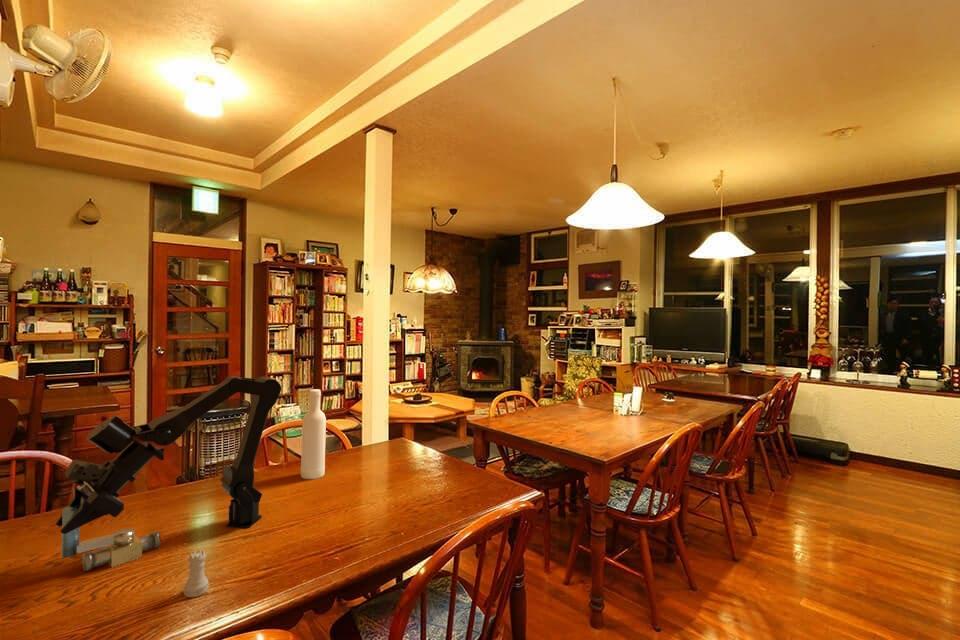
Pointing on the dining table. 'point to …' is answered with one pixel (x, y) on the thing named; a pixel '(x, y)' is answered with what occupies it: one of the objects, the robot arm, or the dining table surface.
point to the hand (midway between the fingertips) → (59, 529)
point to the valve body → (121, 552)
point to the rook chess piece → (196, 575)
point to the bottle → (313, 439)
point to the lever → (74, 547)
